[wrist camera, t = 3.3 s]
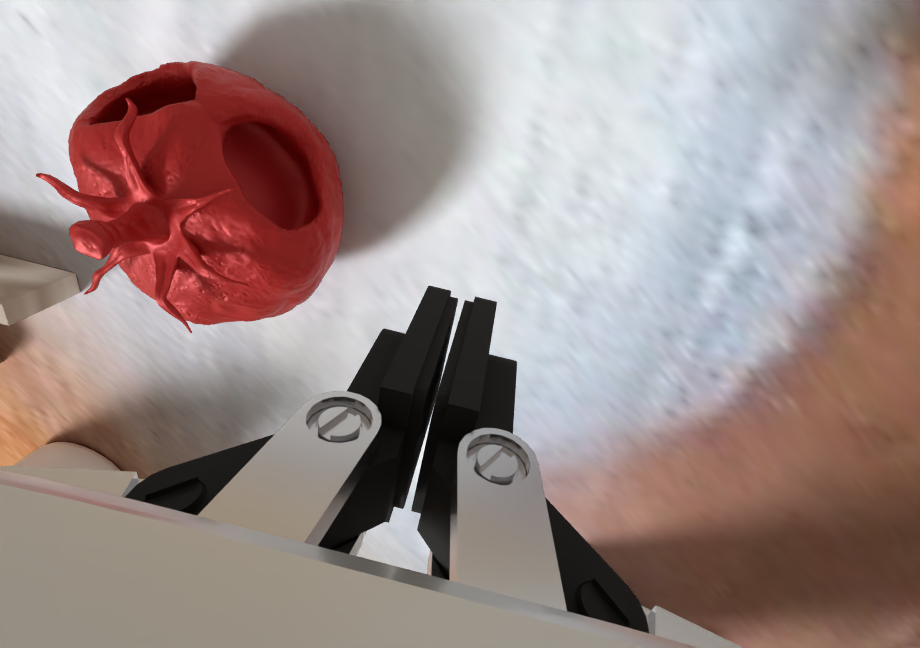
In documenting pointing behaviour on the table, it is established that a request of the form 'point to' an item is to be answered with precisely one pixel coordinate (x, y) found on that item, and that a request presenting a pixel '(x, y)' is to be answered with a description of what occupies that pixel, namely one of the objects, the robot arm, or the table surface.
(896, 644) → the table surface
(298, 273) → the pomegranate
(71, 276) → the display stand
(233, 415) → the table surface
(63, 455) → the milk bottle
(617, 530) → the table surface
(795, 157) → the table surface
